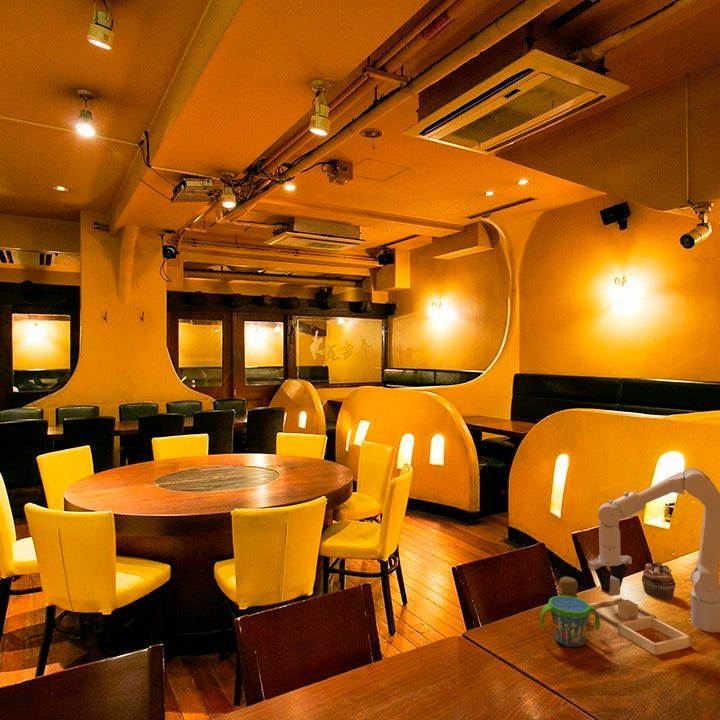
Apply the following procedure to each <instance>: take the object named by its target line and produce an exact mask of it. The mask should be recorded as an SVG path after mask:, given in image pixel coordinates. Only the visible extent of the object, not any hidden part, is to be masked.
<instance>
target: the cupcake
mask: <svg viewBox="0 0 720 720" xmlns="http://www.w3.org/2000/svg"><path fill="white" fill-rule="evenodd" d="M641 582H642V586H643V587H642V588H643V591H644V593H645V594H646V595H648V596H651V597H654V598H658V599H661V600H663V601H665V602H670V601H672V600H673V599H674V595H675V588H676V585H677V583H676V582H675V579H674V577H673V574H672V570H671V568H669V566H667V565H663V564H662V563H661V562H658V561H657V562H653V563H651V562H648V563H645V568H644V570H643V572H642V576H641Z"/></svg>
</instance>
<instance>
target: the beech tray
mask: <svg viewBox="0 0 720 720" xmlns="http://www.w3.org/2000/svg"><path fill="white" fill-rule="evenodd" d="M623 600H625V599H624V598H622V597H618V598H613V599H607V600H603V601H597V602H592V603H588V604H589V605H591V606H592V607H593V608H594V609H595V610H596V611H597V613H598V615H599V619H601V620H602V621H603V620H604V622H606V623H609V624H610V625H611V626H613V627H615V628H616V629H618V623H623V622H628V621H625V620H623V619H621V618H619V617H618V601H623ZM590 614H593V615H595V612H594V611H593V610H591V611H590ZM651 616H652V617H654V618H655V619H657V615H654V614H653V613H651V612H648V611H647V610H646V609H643V608H641V607H639V606H638V619H642V618H646V617H651ZM633 620H637V619H633ZM629 621H632V620H629Z"/></svg>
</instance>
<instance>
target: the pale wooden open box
mask: <svg viewBox="0 0 720 720" xmlns="http://www.w3.org/2000/svg"><path fill="white" fill-rule="evenodd" d="M650 628H652V629H654V630H656V631H658V632H660V633H661V634H663V635H665V636H667V637H668V638H669V639H666V640H662V641H659V642H657V641H656V642H654V641H652V640H650V639H648V638H646V637H645V636H643V635H641V634H640V633H638V632H637V631H641V630H646V629H650ZM617 634H619V635H621V636H622V637H624V638H626V639H627V640H629V641H631V642H632V643H634V644H635V645H637V646H639V647H640V648H642V649H644V650H645V651H647V652H649V653H650V654H652V655H653V656H659V655H663V654H666V653H670V652H675V651H679V650H683V649H686V648H687V649H688V648H690V647H692V646H691V645H692V642H691V636H690V635H688V634H686V633H684V632H682V631H680V630H679V629H676V628H674V627H672V626H671V625H670V624H667V623H665V622H664V621H661V620H659V619H657V618H656V619H655V618H654V617H652V616H651V617H646V618H642V619H637V620H632V621H628V622H623V623H618V628H617ZM670 638H671V639H670Z"/></svg>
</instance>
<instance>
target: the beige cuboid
mask: <svg viewBox="0 0 720 720" xmlns="http://www.w3.org/2000/svg"><path fill="white" fill-rule="evenodd" d="M638 605H639V604H637V603H635V602H633V601H632V600H629V599H624V600H623V601H618V617H619V618H621V619H623V620H625V621H629V620H633V619H638V607H639V606H638Z"/></svg>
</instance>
